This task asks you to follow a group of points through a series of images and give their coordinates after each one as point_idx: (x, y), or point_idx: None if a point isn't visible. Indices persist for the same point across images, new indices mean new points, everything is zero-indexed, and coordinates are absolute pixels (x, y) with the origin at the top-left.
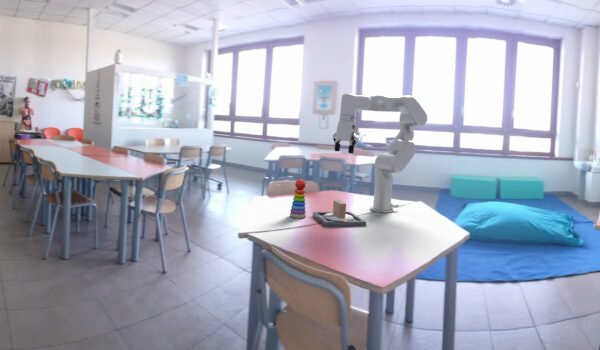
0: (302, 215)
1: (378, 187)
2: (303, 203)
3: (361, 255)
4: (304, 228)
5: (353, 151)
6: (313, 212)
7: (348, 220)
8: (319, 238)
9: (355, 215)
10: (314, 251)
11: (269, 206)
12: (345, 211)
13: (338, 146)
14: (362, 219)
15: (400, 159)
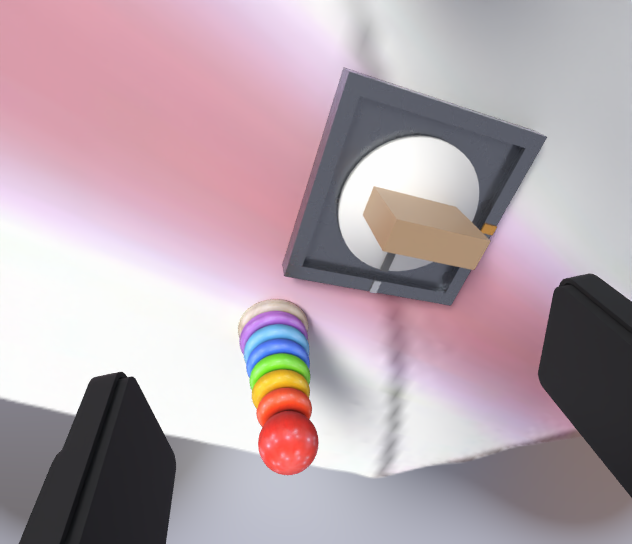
0: (306, 327)
1: None
2: (307, 359)
3: None
4: (420, 358)
5: (616, 292)
6: (293, 277)
7: (476, 201)
8: (520, 360)
9: (435, 106)
10: None
11: (46, 360)
12: (471, 222)
13: (128, 523)
14: (511, 128)
15: None
